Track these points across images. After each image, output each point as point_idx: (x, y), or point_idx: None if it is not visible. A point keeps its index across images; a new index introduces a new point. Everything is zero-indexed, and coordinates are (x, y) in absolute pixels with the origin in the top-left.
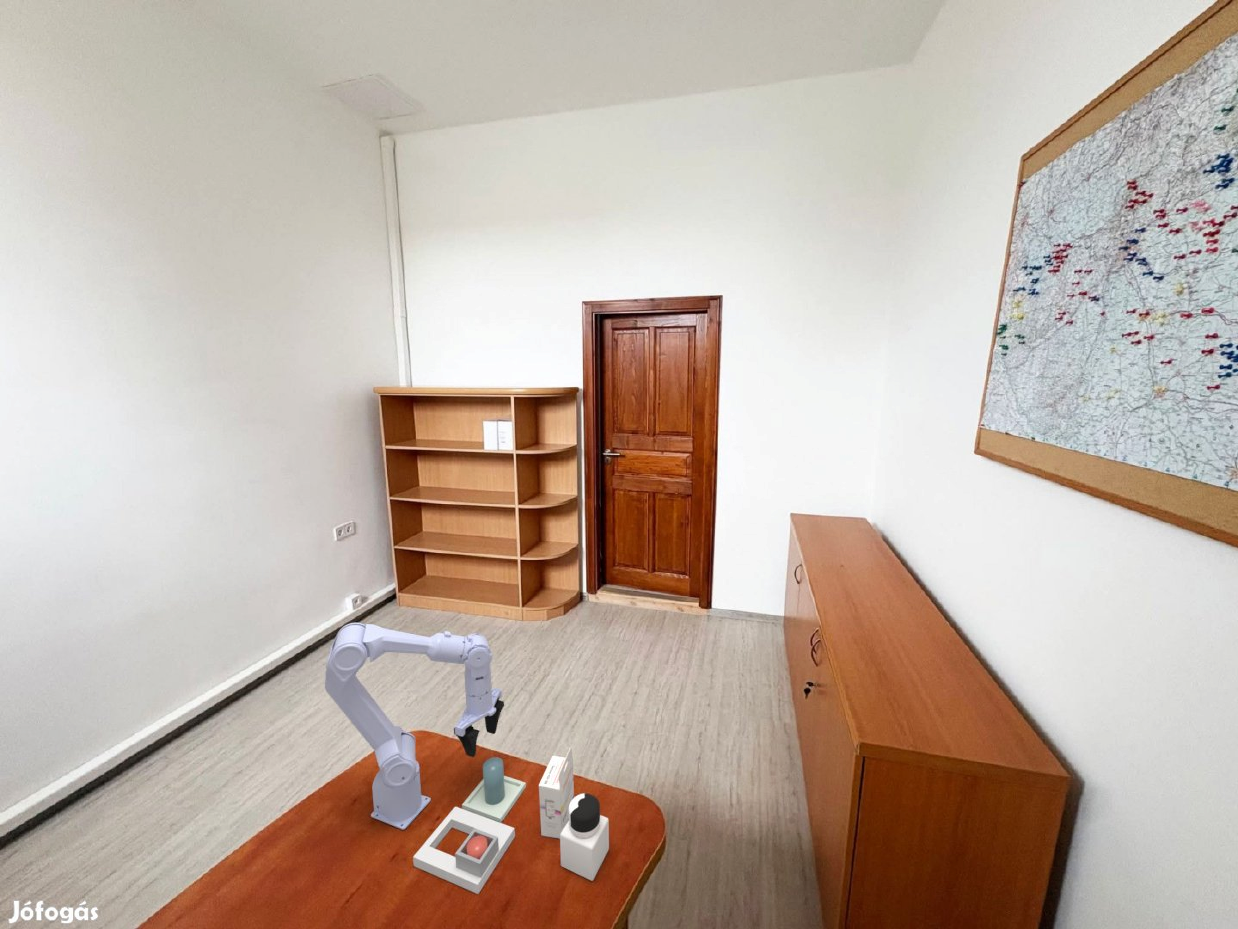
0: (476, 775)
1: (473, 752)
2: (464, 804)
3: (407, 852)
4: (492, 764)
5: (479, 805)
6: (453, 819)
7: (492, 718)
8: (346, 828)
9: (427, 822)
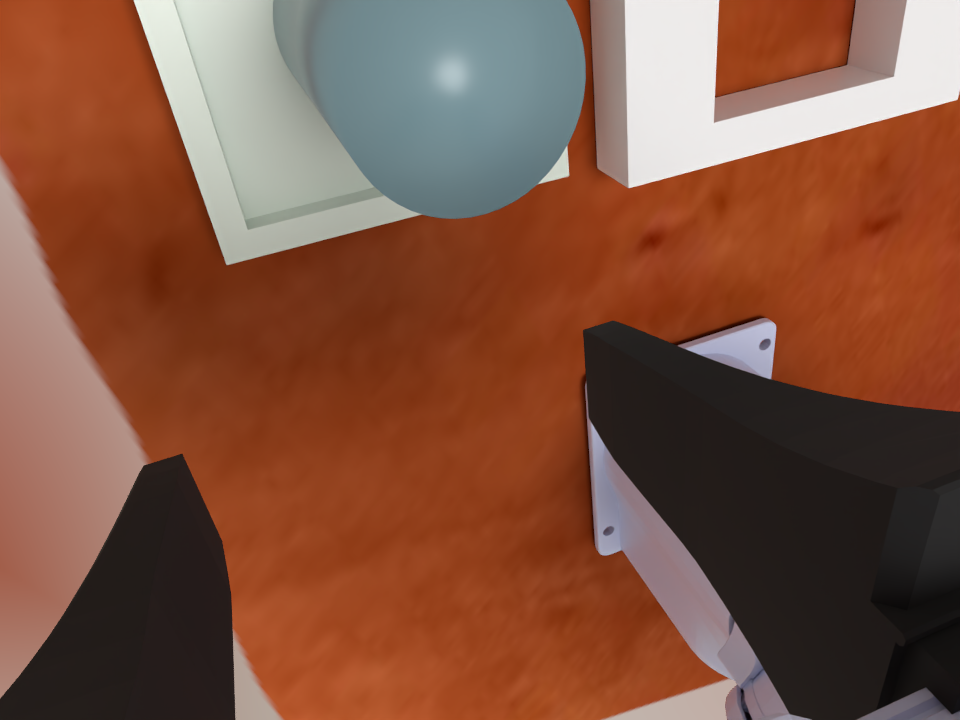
0: (290, 331)
1: (667, 342)
2: (561, 162)
3: (852, 189)
4: (467, 101)
5: None
6: (711, 106)
7: (180, 676)
8: None
9: (692, 264)
